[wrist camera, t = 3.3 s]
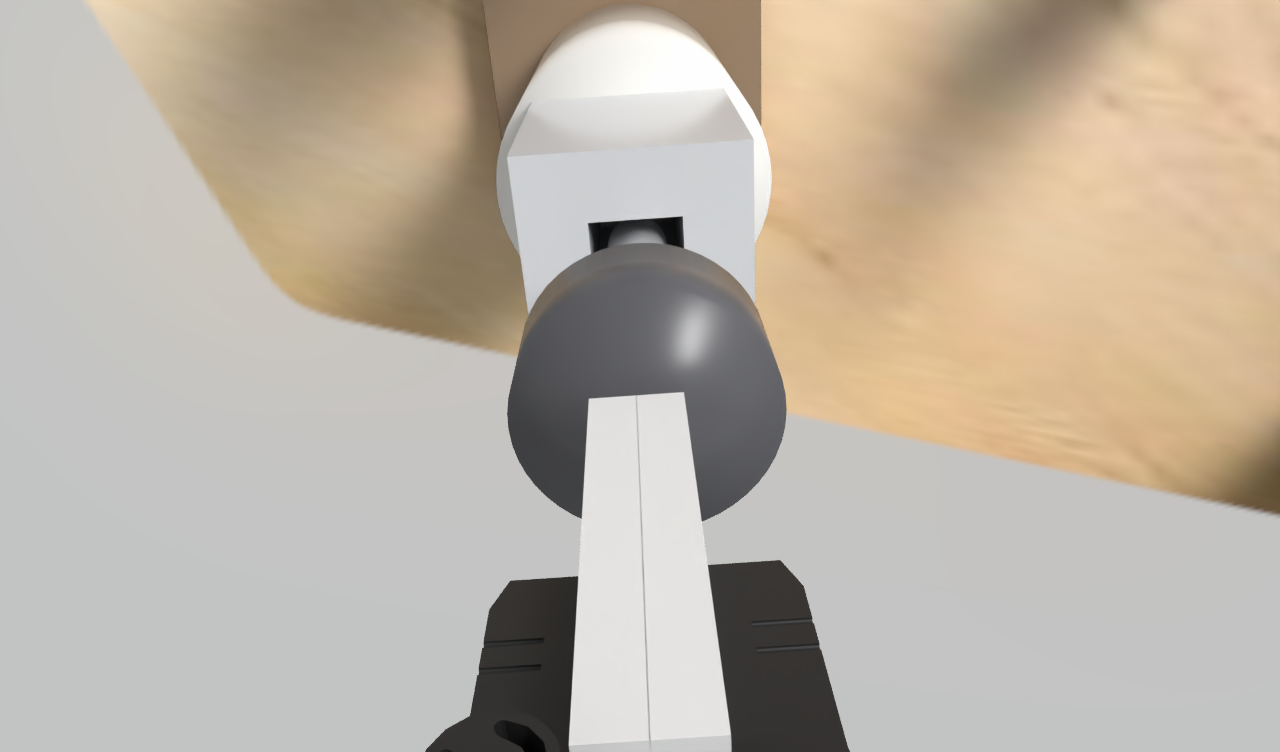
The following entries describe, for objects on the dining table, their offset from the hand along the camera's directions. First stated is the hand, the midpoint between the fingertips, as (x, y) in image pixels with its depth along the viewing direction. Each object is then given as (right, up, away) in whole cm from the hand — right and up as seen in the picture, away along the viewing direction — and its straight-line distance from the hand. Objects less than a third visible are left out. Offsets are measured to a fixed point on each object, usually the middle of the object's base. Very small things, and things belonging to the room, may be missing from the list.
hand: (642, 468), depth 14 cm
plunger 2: (0, +5, +10) cm, 11 cm away
